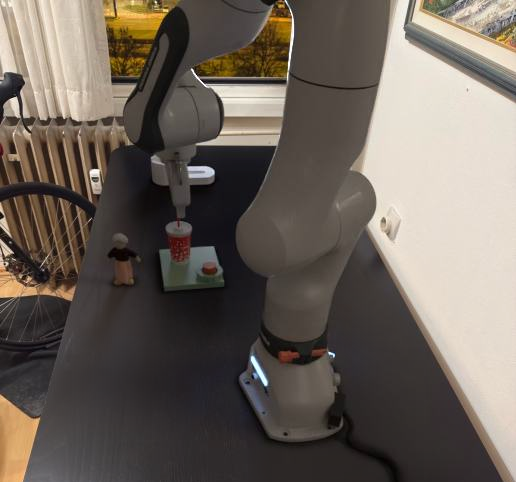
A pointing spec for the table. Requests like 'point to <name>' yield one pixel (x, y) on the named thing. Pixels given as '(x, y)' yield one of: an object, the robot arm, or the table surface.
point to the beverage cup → (179, 241)
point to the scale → (190, 270)
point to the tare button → (209, 268)
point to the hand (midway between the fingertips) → (178, 206)
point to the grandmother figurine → (122, 260)
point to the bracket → (196, 173)
